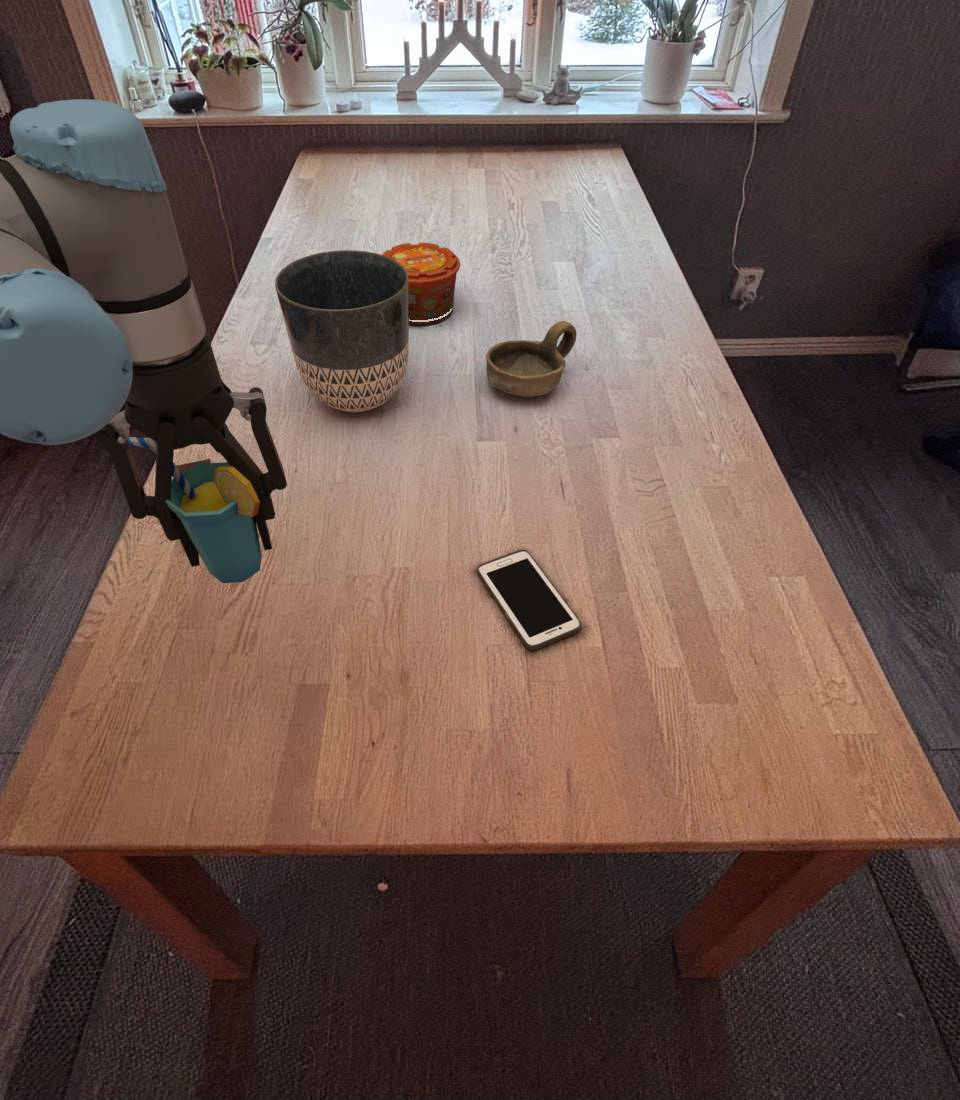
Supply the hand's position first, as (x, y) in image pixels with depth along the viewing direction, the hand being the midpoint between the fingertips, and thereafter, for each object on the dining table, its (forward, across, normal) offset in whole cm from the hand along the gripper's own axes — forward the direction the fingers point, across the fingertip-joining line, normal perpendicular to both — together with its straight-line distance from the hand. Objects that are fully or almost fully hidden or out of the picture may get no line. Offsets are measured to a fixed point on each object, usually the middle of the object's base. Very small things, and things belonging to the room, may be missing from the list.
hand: (231, 548), depth 69 cm
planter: (+17, -21, -46) cm, 54 cm away
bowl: (+17, -52, -42) cm, 68 cm away
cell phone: (+17, -32, +4) cm, 37 cm away
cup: (+2, +1, 0) cm, 2 cm away
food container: (+17, -40, -73) cm, 85 cm away
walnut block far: (+17, +5, -29) cm, 34 cm away
